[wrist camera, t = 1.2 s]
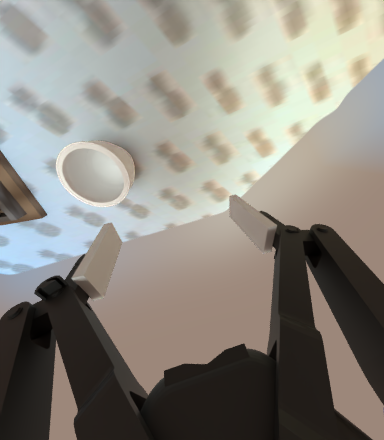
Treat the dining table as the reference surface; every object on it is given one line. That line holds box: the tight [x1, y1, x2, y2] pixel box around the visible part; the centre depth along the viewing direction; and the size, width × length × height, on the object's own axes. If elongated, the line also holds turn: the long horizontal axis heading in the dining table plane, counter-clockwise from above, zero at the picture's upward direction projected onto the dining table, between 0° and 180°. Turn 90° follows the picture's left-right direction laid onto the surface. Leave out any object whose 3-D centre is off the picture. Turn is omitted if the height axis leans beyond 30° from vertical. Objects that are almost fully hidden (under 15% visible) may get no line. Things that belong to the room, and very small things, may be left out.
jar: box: [56, 141, 135, 207], centre depth 29 cm, size 11×10×15 cm
